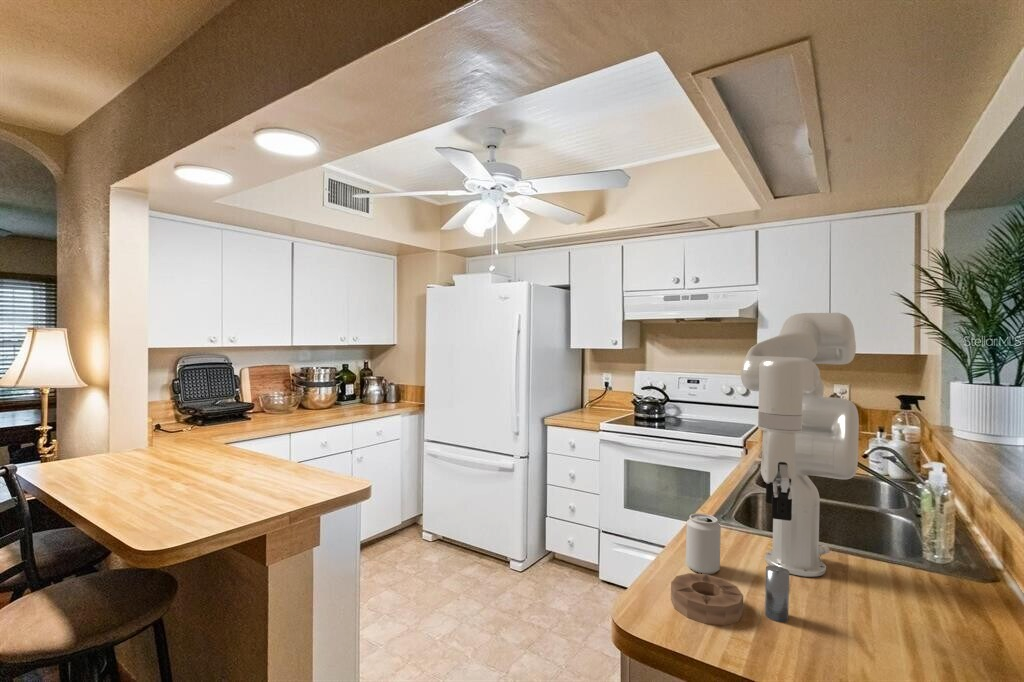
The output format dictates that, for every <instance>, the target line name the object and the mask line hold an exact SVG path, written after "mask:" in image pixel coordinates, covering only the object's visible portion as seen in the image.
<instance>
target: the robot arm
mask: <svg viewBox="0 0 1024 682" xmlns="http://www.w3.org/2000/svg"><path fill="white" fill-rule="evenodd" d="M856 353H857V345H856V335H855V329H854V325H853V322H852V321H851V319H850V317H848V316H847V315H846V314H844V313H841V312H803V313H796V314H793V315H791V316H789V317H788V318H787V319H786V320H785V321H784V323H783V325H782V327H781V330H780V332H779V334H778V335H775V336H773V337H771V338H768V339H766V340H763V341H760V342H758V343H756V344H754V345H753V346H751V347H750V349H749V350H747V353H746V355H745V357H744V359H743V362H742V365H741V368H740V379H741V383H742V384H743V386H744V387H745V388H746V389H747V390H749V391H752V392H758V418H757V429H759V430H761V431H762V441H761V459H760V460H761V461H760V463H761V464H760V474H761V477H762V479H763V482H765V483H766V484H765V488H766V489H765V502H766V503H767V504H771V517H772V549H771V550H767V552H766V553H765V554H764V555H765V557H764V558H765V561H766V562H767V564H769V565H775V566H780V567H783V568H785V569H787V570H788V571H789V575H794V576H800V577H810V578H811V577H813V578H815V577H820V576H824V575H825V574H826V572H827V565H826V564H825V563H824V562H823V561H822V560H821V556H823V555H827V554H829V553H830V547H829V546H828V545H826V544H823V545H820V544H819V543H820V542H819V541H820V531H819V530H820V504H821V503H820V502H821V501H820V500H821V498H820V497H821V496H820V494H819V491H818V488H817V486H816V485H815V484H814V483H813V481H812V479H810V477H809V476H814V477H815V476H816V477H823V478H830V479H836V480H849V479H852V478H854V477H855V475H856V473H857V470H858V466H859V465H858V464H859V462H858V461H859V460H858V459H859V436H860V435H859V430H860V420H859V419H860V418H859V412H858V411H859V410H858V408H857V406H856V405H855V403H854V402H853V401H851V400H849V399H847V398H841V397H832V396H831V397H829V396H828V397H827V396H824V390H825V383H824V382H823V380H822V378H821V372H820V368H819V367H818V366H817V364H819V365H820V364H821V365H847V364H850V363H851V362H852V361H853V360H854V358H855V356H856Z"/></svg>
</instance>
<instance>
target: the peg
mask: <svg viewBox="0 0 1024 682" xmlns="http://www.w3.org/2000/svg"><path fill="white" fill-rule="evenodd" d="M764 592H765V595H764V596H765V598H764V600H765V601H764V615H765V616H766V618H768V619H769V620H771V621H774V622H777V623H787V622H788V621H789V611H790V610H789V604H790V601H789V600H790V598H789V597H790V573H789V571H788V570H787V569H785V568H783V567H780V566H775V565H770V564H769V565H767V566H766V567H765V591H764Z"/></svg>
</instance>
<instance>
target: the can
mask: <svg viewBox="0 0 1024 682" xmlns="http://www.w3.org/2000/svg"><path fill="white" fill-rule="evenodd" d="M721 531H722V528H721V524H720V523H719V520H718V518H717V517H715V516H713V515H711V514H706V513H692V514H690V515H689V519H688V520H687V521H686V531H685V532H686V536H685V564H686V566H687V567H688V568H689V569H690V570H691V569H692V570H691V571H693V572H695V573H697V572H698V573H697V574H701V573H702V574H707V575H713V574H715V573H717V572H718V571H719V570H720V569H721V536H722V535H721V533H722V532H721Z"/></svg>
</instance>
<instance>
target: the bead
mask: <svg viewBox="0 0 1024 682" xmlns="http://www.w3.org/2000/svg"><path fill="white" fill-rule="evenodd" d="M670 601H671V604H672V606H673V608H674V610H676V611H678V612H679V613H680V614H681V615H683V616H684V617H686V618H687V619H691V620H694V621H696V622H699V623H703V624H705V625H715V626H716V625H717V626H728V625H731V624H735V623H737V622H740V620H741V618H742V617H743V614H744V594H743V593H742V592H741V590H740V589H739V587H738V586H737V585H735V584H733V583H731V582H730V581H729V580H726V579H724V578H722V577H717V576H714V575H712V574H701V573H696V572H695V573H694V572H693V573H692V572H691V573H690V572H687V573H684V574H679V575H676V576H675V577H674V578H673V579H672V581H671V582H670Z"/></svg>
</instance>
